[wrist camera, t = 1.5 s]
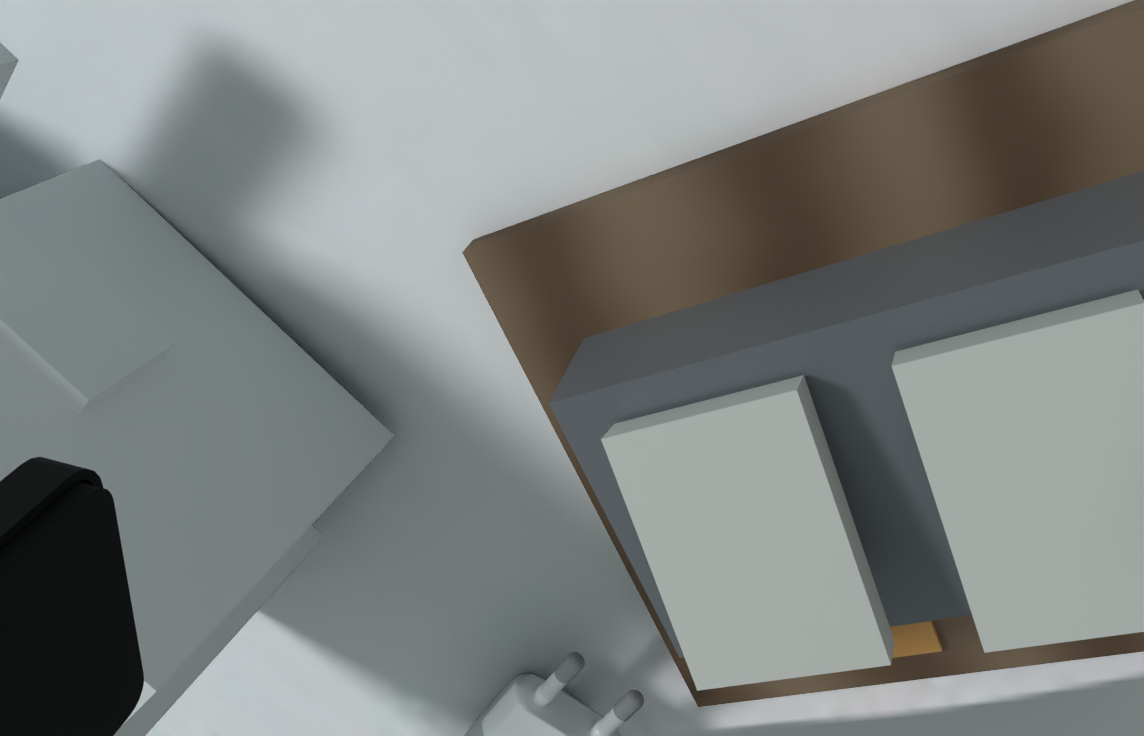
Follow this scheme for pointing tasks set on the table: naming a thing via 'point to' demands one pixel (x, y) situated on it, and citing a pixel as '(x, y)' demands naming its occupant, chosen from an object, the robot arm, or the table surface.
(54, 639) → the robot arm
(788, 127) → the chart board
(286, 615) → the table surface
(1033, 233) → the switch housing
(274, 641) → the table surface
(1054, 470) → the rocker
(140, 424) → the blocky voxel creature
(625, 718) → the power adapter
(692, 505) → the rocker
